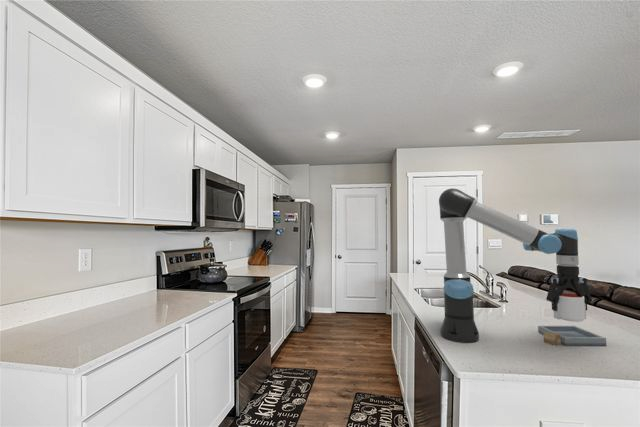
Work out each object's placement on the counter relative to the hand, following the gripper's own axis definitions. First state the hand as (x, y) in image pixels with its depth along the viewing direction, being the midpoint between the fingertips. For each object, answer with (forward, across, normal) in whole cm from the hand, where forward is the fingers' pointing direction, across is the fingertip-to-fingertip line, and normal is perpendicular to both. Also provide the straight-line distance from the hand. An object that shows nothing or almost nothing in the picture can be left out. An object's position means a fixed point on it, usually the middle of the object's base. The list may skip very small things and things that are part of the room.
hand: (569, 318), depth 134 cm
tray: (+9, 0, 0) cm, 9 cm away
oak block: (+9, -11, -5) cm, 15 cm away
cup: (+1, 0, 0) cm, 1 cm away
